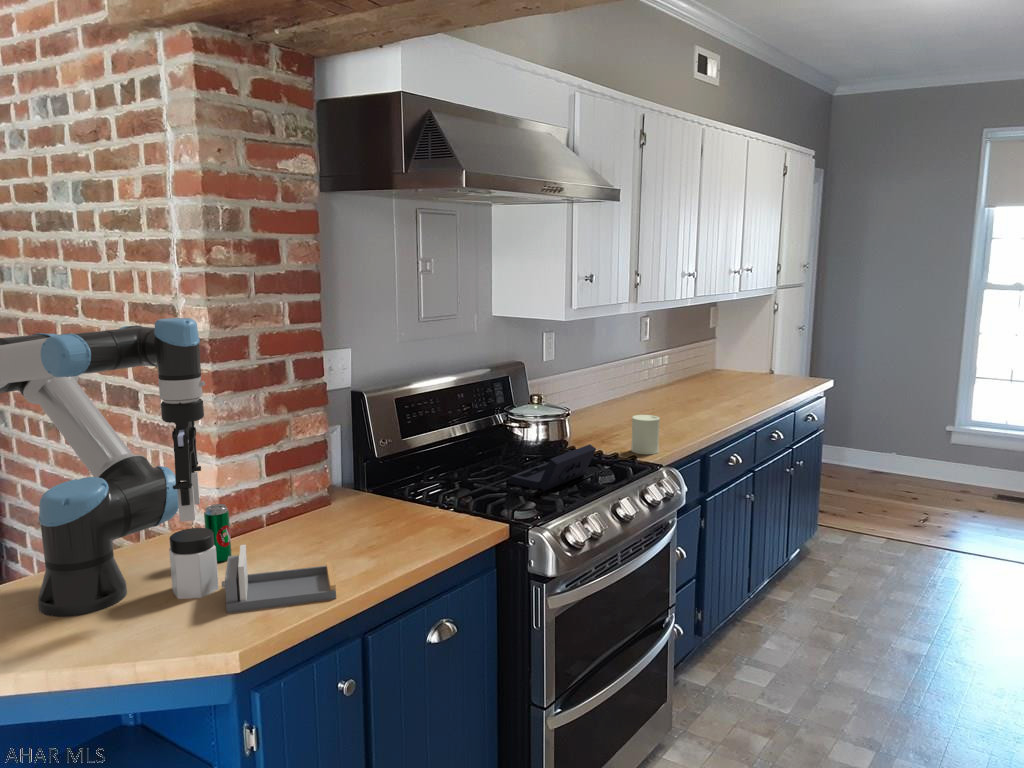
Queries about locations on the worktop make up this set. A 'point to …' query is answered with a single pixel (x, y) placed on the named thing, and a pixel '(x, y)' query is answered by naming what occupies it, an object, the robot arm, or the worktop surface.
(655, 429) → the can
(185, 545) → the jar
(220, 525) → the soda can
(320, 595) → the grey tray
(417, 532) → the worktop surface
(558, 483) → the dark navy angled device
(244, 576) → the pusher
